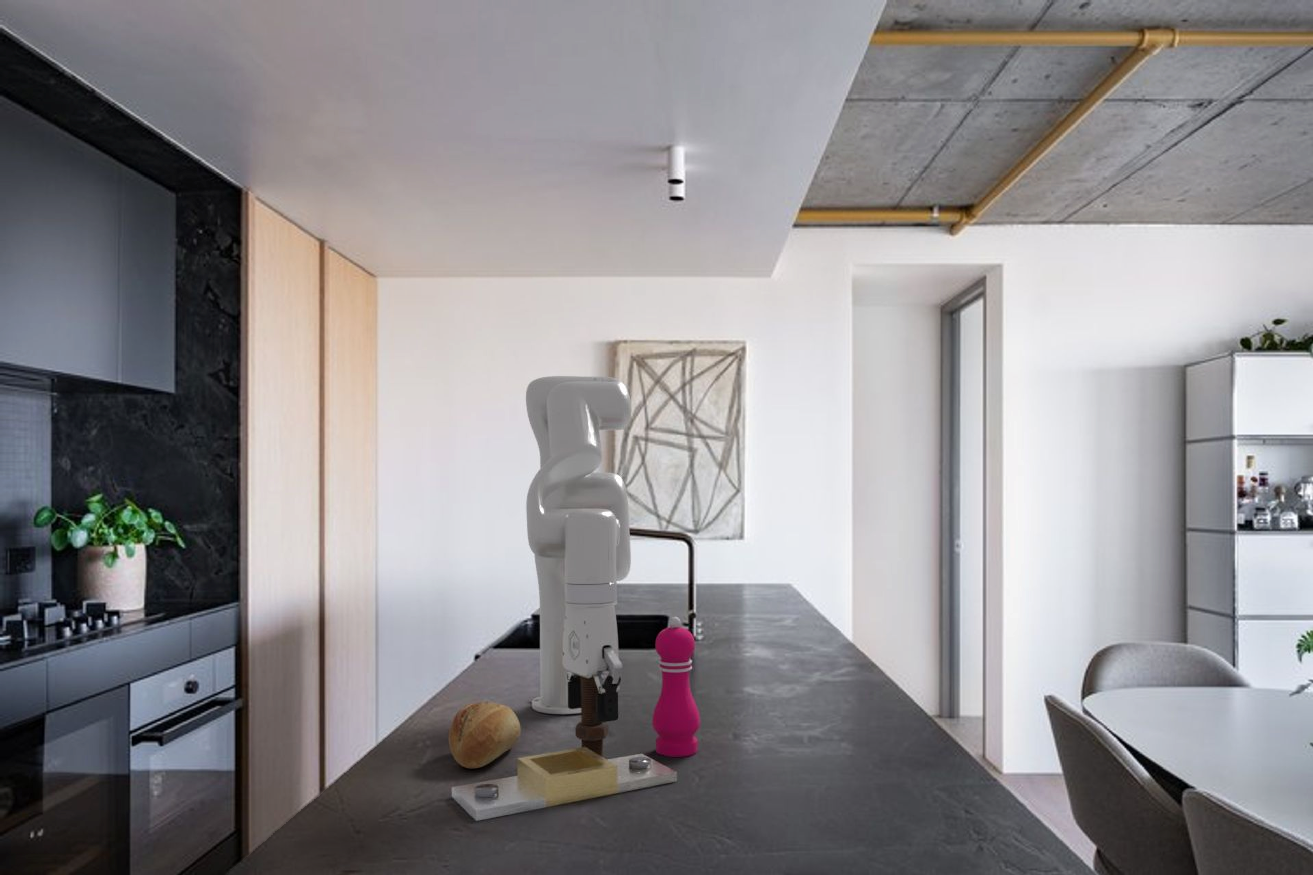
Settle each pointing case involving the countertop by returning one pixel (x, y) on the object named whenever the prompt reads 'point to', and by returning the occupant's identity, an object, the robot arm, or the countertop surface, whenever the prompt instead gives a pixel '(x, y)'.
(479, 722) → the bread roll
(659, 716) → the pepper mill
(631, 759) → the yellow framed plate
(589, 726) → the bolt
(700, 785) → the countertop surface
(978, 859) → the countertop surface
